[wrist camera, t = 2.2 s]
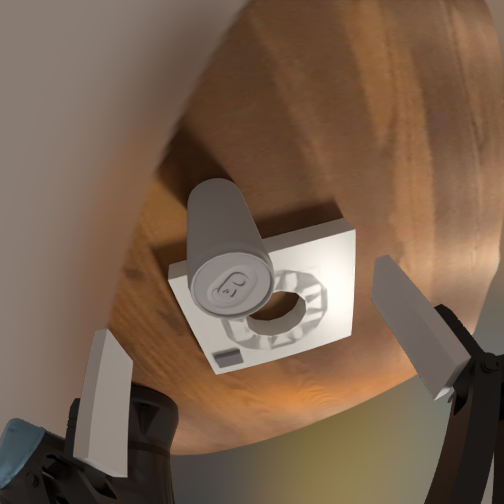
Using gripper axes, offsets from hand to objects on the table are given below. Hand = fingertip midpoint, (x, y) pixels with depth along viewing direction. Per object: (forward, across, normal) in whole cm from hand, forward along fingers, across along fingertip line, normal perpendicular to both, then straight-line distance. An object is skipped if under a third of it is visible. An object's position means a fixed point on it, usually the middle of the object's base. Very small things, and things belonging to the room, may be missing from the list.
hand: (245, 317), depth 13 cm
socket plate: (+14, +3, -13) cm, 20 cm away
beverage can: (+15, 0, 0) cm, 15 cm away
